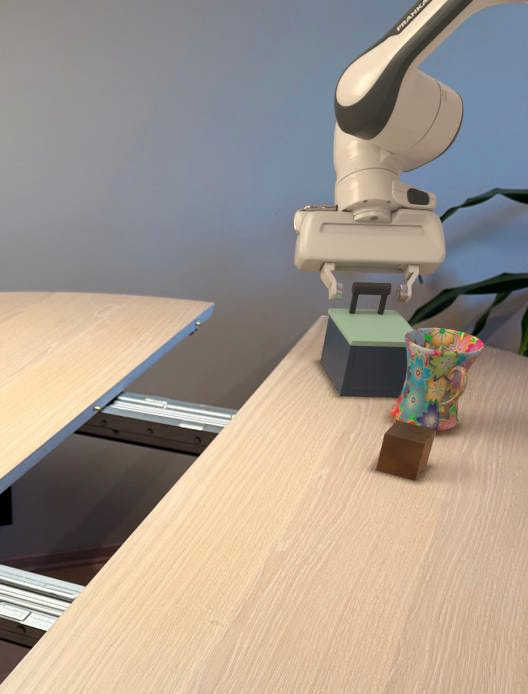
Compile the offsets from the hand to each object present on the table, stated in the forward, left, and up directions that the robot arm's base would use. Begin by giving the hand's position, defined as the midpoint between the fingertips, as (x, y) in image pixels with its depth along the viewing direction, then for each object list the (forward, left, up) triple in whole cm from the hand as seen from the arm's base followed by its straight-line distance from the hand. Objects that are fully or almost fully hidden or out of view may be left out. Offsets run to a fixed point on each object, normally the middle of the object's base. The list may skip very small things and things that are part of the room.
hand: (370, 298), depth 135 cm
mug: (-15, +15, -10) cm, 23 cm away
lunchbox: (-3, +4, -10) cm, 11 cm away
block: (-16, +29, -10) cm, 34 cm away
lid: (-2, +4, -3) cm, 5 cm away
